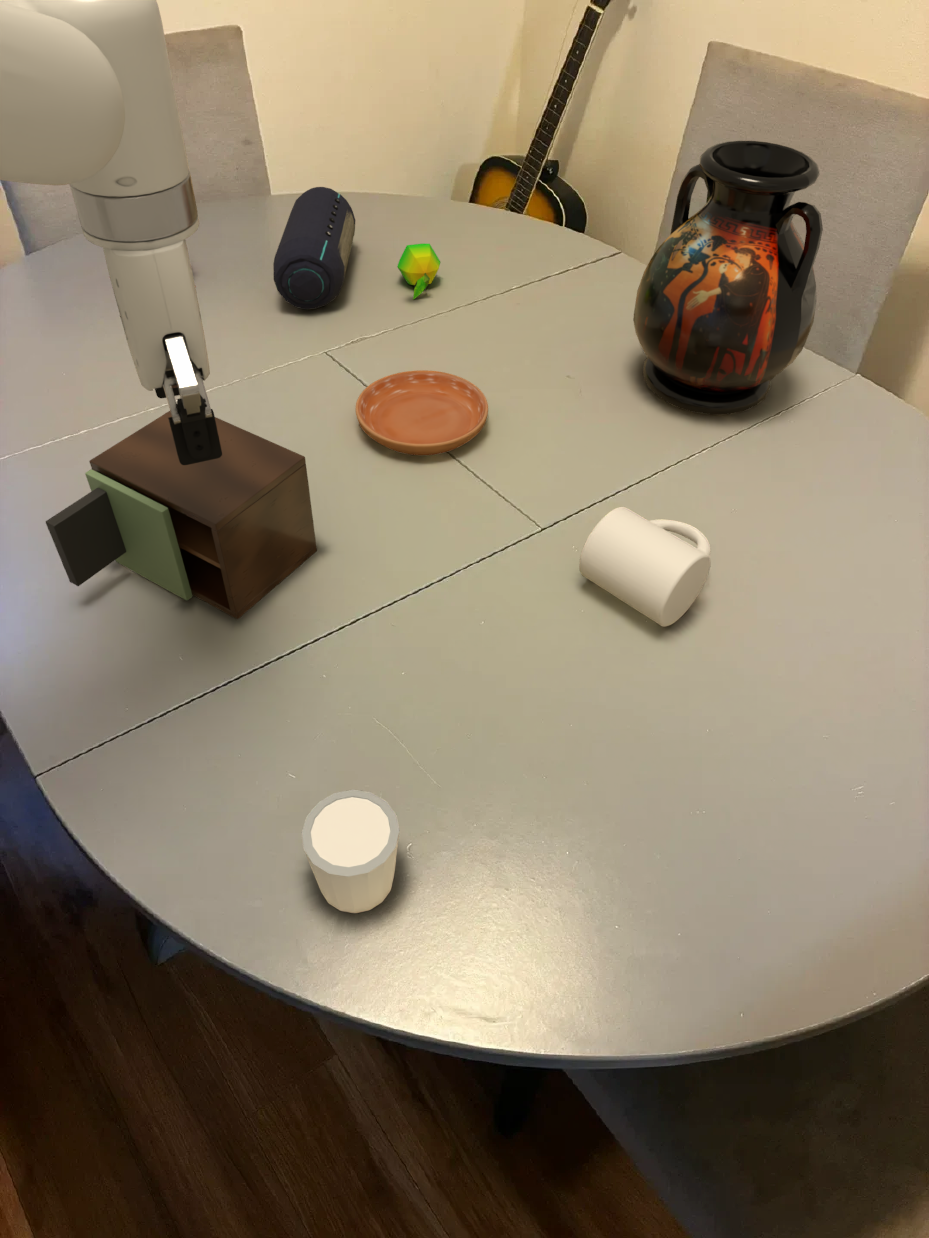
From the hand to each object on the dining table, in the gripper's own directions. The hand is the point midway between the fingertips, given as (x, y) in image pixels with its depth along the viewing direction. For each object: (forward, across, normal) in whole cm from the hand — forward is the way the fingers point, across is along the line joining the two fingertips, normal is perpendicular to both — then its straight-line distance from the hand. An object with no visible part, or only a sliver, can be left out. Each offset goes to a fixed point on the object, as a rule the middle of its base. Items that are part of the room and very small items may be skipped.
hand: (188, 425), depth 71 cm
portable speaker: (+22, -65, +28) cm, 74 cm away
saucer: (+22, -23, +29) cm, 42 cm away
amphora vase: (+22, -18, +67) cm, 72 cm away
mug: (+22, +12, +40) cm, 47 cm away
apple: (+22, -57, +42) cm, 74 cm away
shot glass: (+22, +31, +2) cm, 38 cm away
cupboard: (+21, -9, +1) cm, 23 cm away
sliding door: (+21, -5, -9) cm, 23 cm away
